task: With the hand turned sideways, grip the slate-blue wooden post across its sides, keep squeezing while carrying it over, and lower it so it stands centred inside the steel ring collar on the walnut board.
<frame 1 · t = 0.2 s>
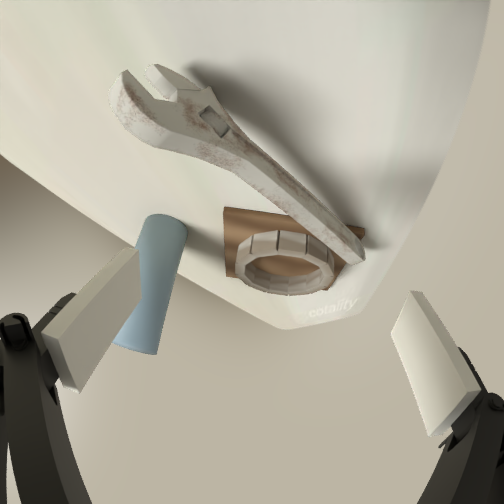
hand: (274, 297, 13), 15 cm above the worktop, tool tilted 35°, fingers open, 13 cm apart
wrench: (281, 163, 26), on the worktop, touching collar board
collar board: (285, 253, 39), on the worktop
post: (166, 228, 38), on the worktop
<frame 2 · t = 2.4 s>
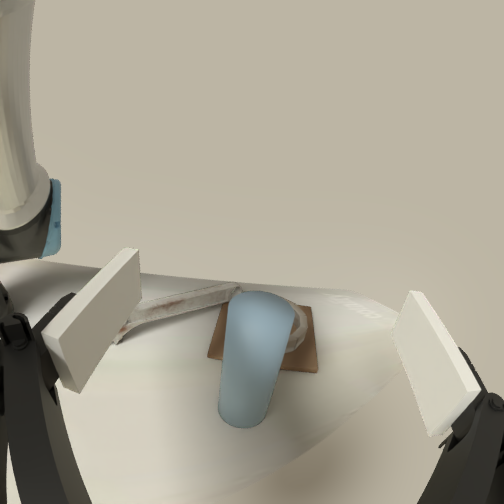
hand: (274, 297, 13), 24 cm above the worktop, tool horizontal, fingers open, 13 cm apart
wrench: (167, 323, 46), on the worktop, touching collar board
collar board: (265, 331, 48), on the worktop
post: (242, 408, 33), on the worktop
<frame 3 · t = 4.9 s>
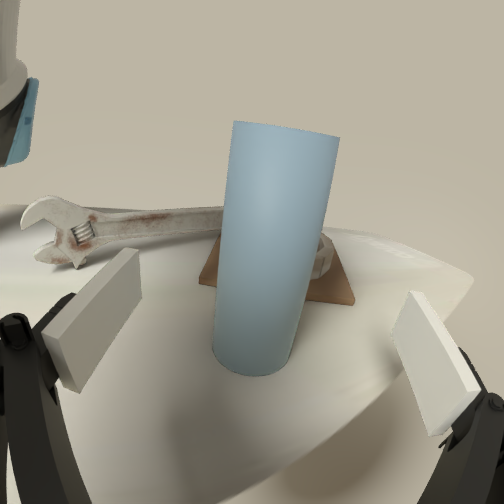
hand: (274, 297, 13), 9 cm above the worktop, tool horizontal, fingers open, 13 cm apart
wrench: (148, 249, 35), on the worktop, touching collar board
collar board: (278, 260, 37), on the worktop
post: (251, 347, 22), on the worktop
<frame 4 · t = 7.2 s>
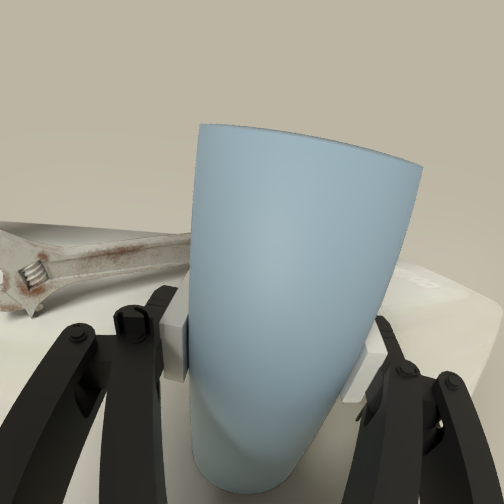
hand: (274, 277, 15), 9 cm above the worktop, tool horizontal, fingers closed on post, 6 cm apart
wrench: (119, 288, 27), on the worktop, touching collar board
post: (245, 450, 14), on the worktop, touching gripper
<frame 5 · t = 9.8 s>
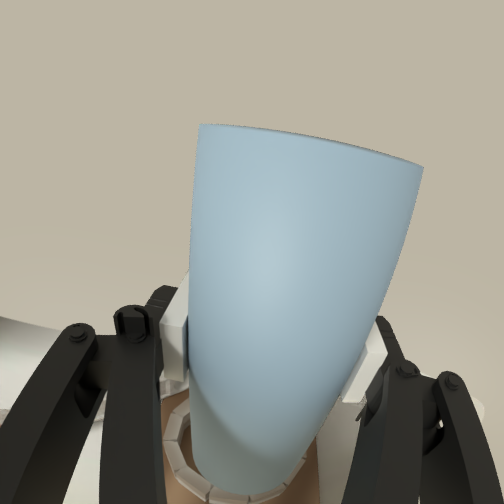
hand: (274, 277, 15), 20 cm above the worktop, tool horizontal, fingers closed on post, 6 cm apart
wrench: (75, 432, 21), on the worktop, touching collar board
collar board: (233, 452, 23), on the worktop
post: (245, 450, 14), point 11 cm above the worktop, touching gripper
when the fingers open (11 cm above the worktop, at t = 12.7 s): post drops 1 cm, resting on collar board.
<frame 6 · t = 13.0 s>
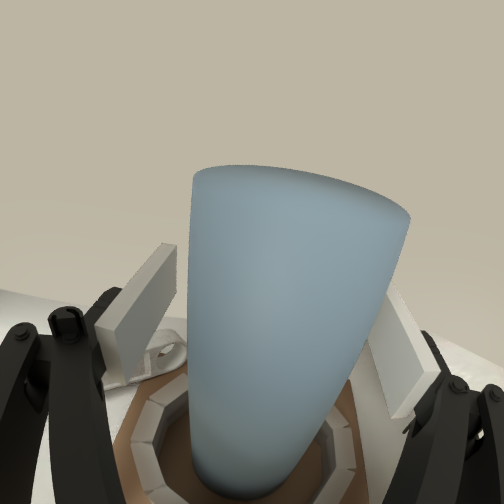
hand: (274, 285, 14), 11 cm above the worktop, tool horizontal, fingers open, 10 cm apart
wrench: (19, 420, 13), on the worktop, touching collar board
collar board: (241, 463, 15), on the worktop
post: (241, 459, 15), point 1 cm above the worktop, touching collar board
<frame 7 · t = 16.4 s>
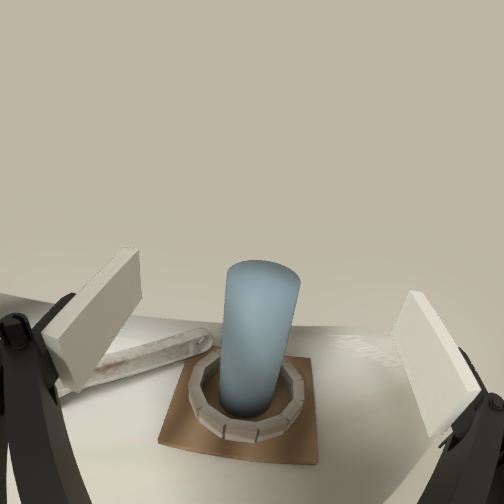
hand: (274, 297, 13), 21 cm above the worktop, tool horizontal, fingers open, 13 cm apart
wrench: (110, 388, 29), on the worktop, touching collar board
collar board: (244, 401, 31), on the worktop
post: (245, 397, 31), point 1 cm above the worktop, touching collar board
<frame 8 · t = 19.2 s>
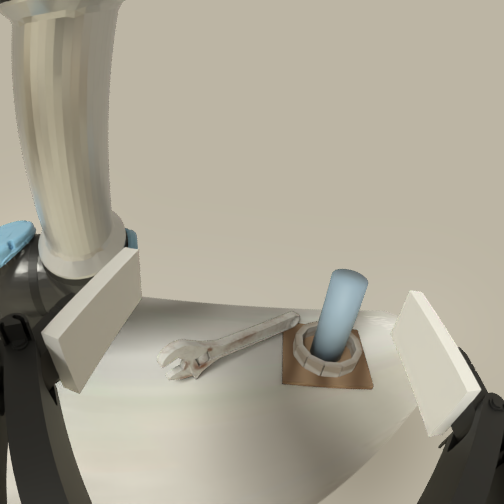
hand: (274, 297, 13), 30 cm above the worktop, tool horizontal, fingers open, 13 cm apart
wrench: (239, 354, 50), on the worktop, touching collar board
collar board: (324, 355, 52), on the worktop
post: (325, 352, 51), point 1 cm above the worktop, touching collar board
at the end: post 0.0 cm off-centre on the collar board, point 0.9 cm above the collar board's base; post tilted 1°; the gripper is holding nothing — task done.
